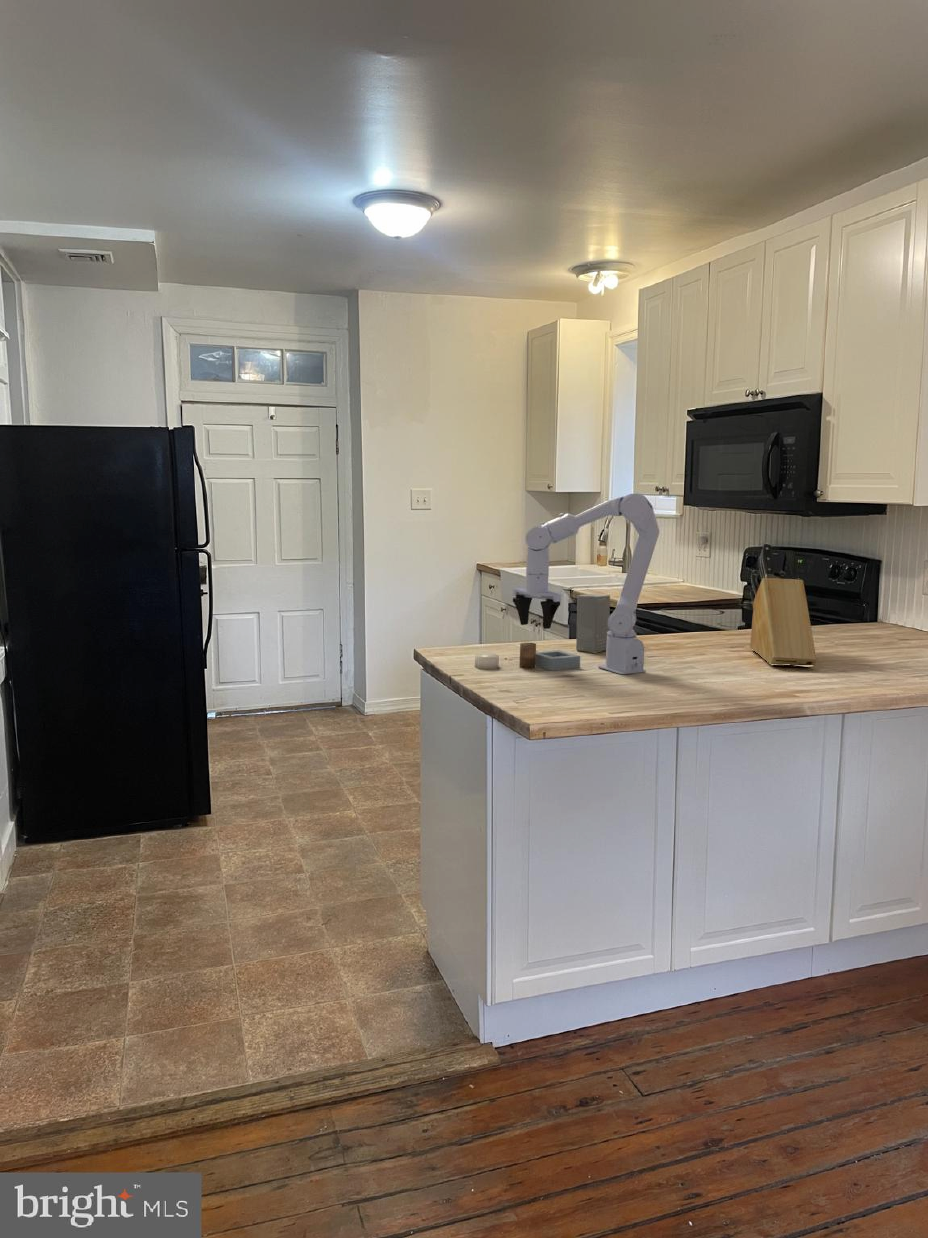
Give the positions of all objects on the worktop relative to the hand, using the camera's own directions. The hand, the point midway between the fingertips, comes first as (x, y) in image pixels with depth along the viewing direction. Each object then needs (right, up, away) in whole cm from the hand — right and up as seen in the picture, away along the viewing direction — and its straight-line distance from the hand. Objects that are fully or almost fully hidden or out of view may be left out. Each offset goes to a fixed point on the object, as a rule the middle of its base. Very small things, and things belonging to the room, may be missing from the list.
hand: (535, 626), depth 230 cm
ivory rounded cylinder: (-13, -10, -4) cm, 17 cm away
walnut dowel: (-2, -10, -4) cm, 11 cm away
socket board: (+5, -10, -2) cm, 11 cm away
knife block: (+68, -9, +17) cm, 71 cm away
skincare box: (+18, -7, +21) cm, 28 cm away
